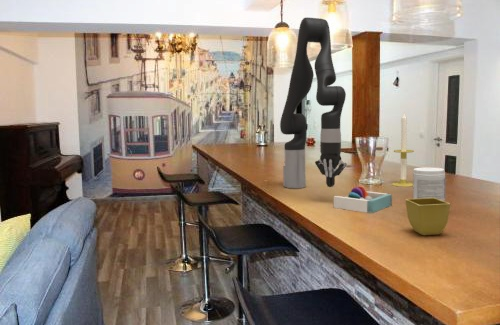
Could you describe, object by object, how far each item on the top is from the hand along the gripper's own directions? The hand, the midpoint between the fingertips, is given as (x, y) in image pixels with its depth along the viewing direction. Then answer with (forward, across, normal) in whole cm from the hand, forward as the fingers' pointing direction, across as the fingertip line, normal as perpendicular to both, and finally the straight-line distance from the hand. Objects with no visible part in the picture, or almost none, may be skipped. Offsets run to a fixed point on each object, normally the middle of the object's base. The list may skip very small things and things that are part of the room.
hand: (330, 186), depth 162 cm
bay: (+6, +14, 0) cm, 15 cm away
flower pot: (+5, +44, -19) cm, 48 cm away
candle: (+6, +6, +49) cm, 50 cm away
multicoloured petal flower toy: (+6, +12, -1) cm, 14 cm away
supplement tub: (+5, +36, +3) cm, 36 cm away
